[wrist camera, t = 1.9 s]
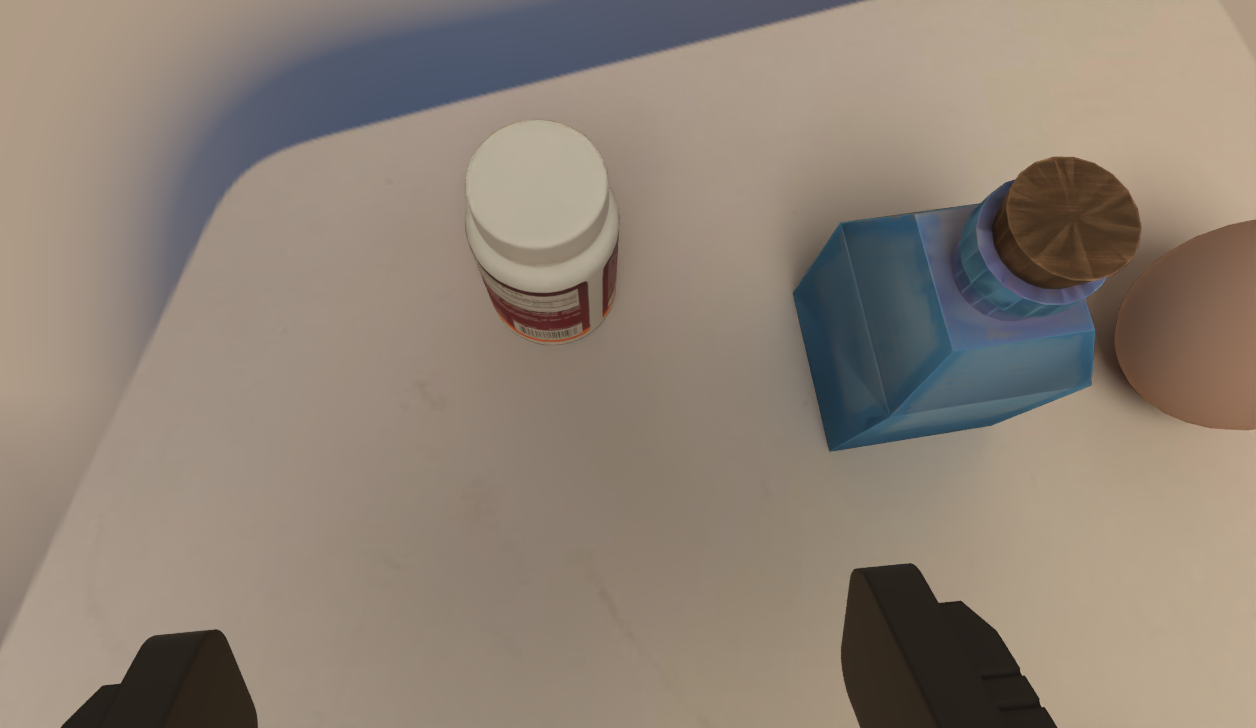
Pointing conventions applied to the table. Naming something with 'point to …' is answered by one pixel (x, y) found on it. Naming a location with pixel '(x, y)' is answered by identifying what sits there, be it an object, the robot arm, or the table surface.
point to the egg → (1196, 330)
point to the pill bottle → (543, 230)
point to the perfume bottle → (963, 305)
